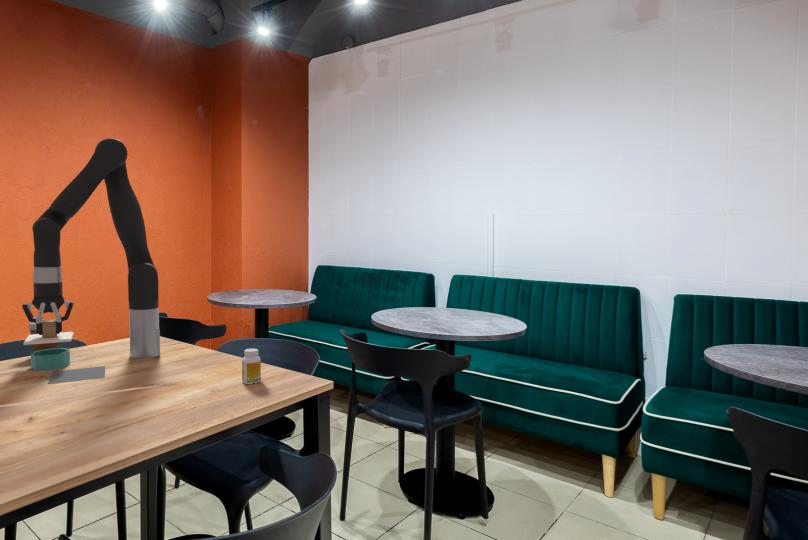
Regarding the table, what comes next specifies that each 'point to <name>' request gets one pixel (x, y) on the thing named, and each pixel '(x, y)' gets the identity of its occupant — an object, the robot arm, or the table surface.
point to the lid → (49, 334)
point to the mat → (77, 375)
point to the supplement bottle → (251, 367)
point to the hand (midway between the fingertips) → (49, 333)
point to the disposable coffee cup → (45, 345)
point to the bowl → (50, 359)
